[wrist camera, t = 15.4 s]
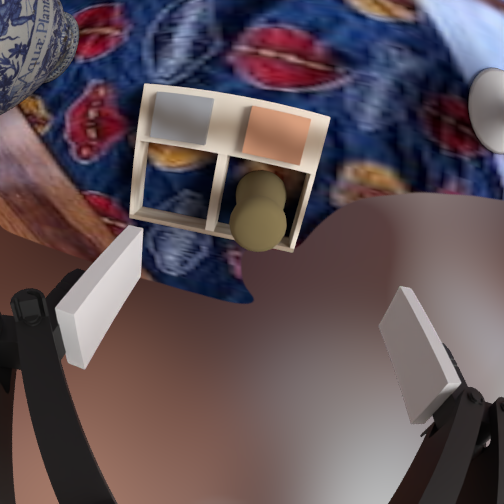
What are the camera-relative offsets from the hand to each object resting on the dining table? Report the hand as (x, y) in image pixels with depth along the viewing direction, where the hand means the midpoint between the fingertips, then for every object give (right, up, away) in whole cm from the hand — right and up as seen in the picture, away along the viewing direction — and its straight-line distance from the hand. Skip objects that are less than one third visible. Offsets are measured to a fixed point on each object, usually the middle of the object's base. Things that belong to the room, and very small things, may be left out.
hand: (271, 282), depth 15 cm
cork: (0, +8, +22) cm, 24 cm away
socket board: (-4, +12, +21) cm, 24 cm away
